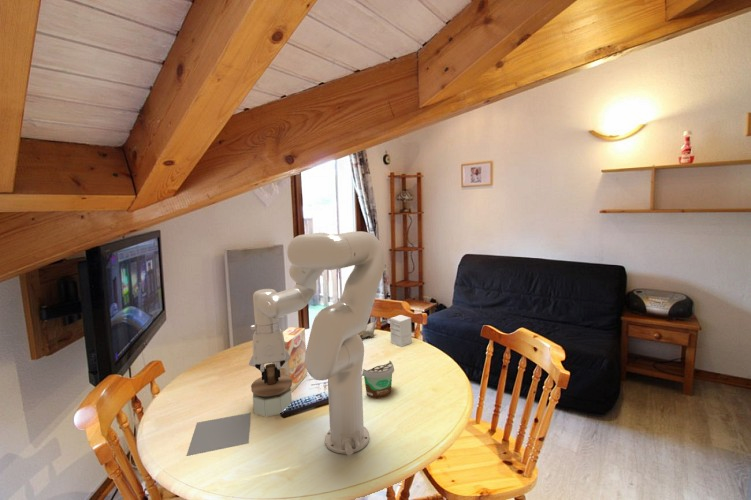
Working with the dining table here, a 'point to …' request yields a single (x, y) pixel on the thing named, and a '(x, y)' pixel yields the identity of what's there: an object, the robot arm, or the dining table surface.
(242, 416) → the mat
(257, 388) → the lid
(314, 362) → the robot arm
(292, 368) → the coffeecake box
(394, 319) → the white mini drawer cabinet
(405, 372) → the dining table surface
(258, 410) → the bowl
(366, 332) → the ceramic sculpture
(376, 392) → the food container
